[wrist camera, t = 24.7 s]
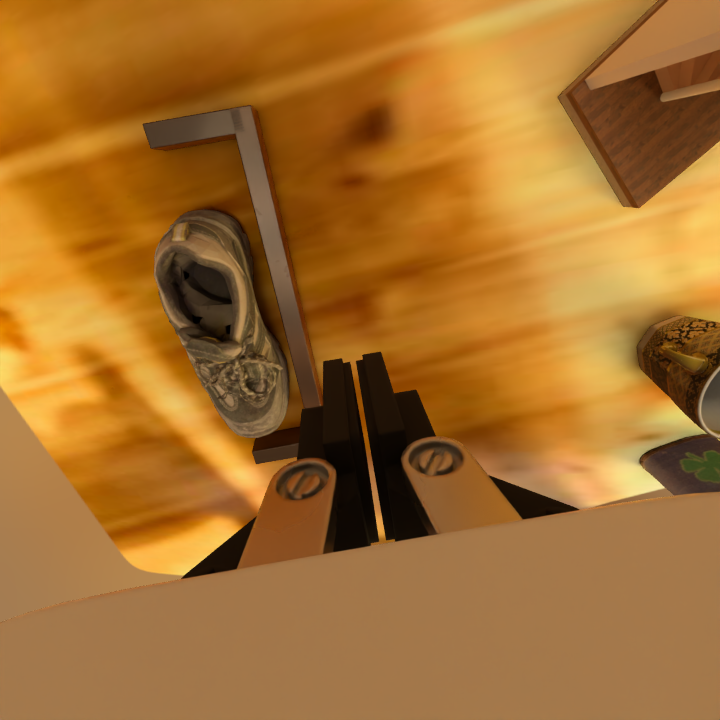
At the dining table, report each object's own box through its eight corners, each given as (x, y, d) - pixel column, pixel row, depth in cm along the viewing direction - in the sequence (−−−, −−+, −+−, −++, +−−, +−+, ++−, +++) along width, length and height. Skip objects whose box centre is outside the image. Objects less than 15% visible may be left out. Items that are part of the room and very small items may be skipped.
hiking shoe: (203, 442, 41) (237, 495, 31) (125, 226, 34) (137, 207, 24) (286, 406, 45) (340, 444, 35) (231, 209, 39) (279, 187, 29)
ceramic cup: (734, 318, 42) (845, 358, 33) (672, 398, 46) (757, 453, 37) (636, 275, 40) (728, 305, 31) (579, 363, 43) (646, 413, 34)
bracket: (157, 128, 32) (142, 123, 29) (257, 110, 32) (250, 104, 29) (260, 446, 44) (255, 464, 42) (330, 433, 44) (331, 450, 42)
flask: (638, 469, 50) (714, 539, 40) (638, 450, 49) (717, 519, 39) (714, 447, 50) (809, 514, 40) (715, 428, 48) (814, 492, 39)
